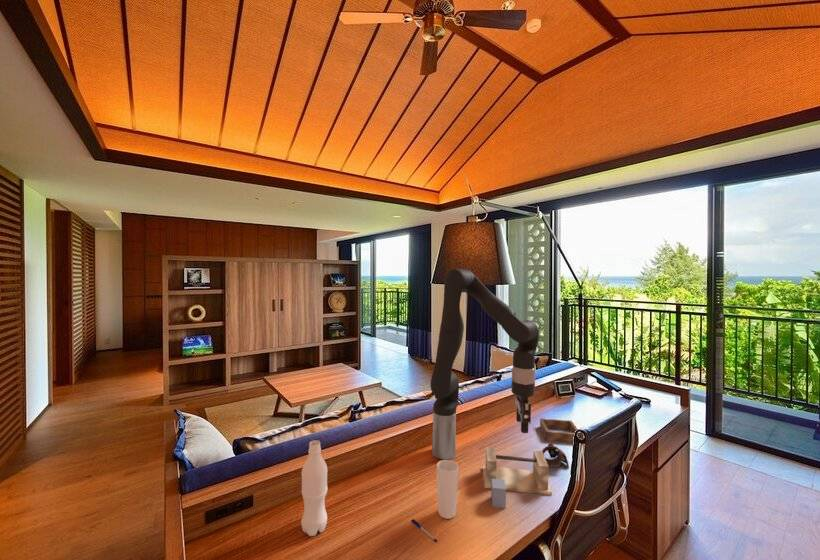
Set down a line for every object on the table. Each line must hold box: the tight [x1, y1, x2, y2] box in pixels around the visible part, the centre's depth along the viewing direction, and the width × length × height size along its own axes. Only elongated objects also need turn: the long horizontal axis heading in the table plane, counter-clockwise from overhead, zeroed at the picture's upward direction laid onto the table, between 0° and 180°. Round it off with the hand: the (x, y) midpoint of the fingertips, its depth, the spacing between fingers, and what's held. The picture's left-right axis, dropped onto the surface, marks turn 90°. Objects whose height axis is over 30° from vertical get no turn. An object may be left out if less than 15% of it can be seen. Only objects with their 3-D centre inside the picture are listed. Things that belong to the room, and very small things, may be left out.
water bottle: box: [300, 439, 329, 537], centre depth 100 cm, size 7×7×25 cm
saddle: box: [490, 479, 507, 509], centre depth 112 cm, size 4×5×6 cm
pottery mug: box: [541, 442, 570, 469], centre depth 136 cm, size 12×10×8 cm
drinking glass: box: [435, 459, 460, 520], centre depth 107 cm, size 7×7×15 cm
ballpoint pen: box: [411, 518, 438, 543], centre depth 100 cm, size 10×1×1 cm, turn 41°
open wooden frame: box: [539, 418, 579, 444], centre depth 160 cm, size 14×14×4 cm
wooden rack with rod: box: [482, 446, 553, 496], centre depth 124 cm, size 22×12×9 cm, turn 81°
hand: (521, 426), depth 119 cm, fingers open, 8 cm apart
